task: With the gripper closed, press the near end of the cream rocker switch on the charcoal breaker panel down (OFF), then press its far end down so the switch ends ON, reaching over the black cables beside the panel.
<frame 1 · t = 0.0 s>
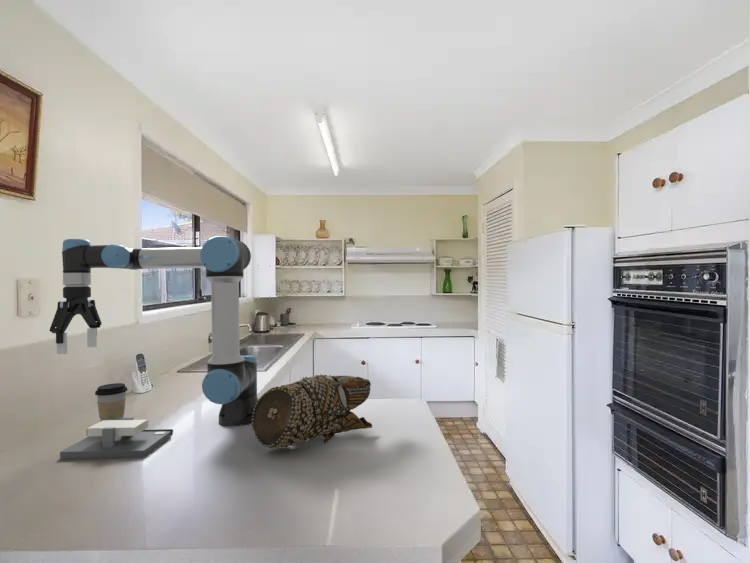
hand: (77, 350, 135), 28 cm above the counter, fingers open, 13 cm apart
rocker: (118, 427, 123), point 6 cm above the counter, hinge at 0.0°
cords: (147, 435, 133), on the counter
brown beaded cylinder: (318, 439, 128), on the counter
coffee cup: (112, 430, 139), on the counter
breaker panel: (118, 447, 123), on the counter
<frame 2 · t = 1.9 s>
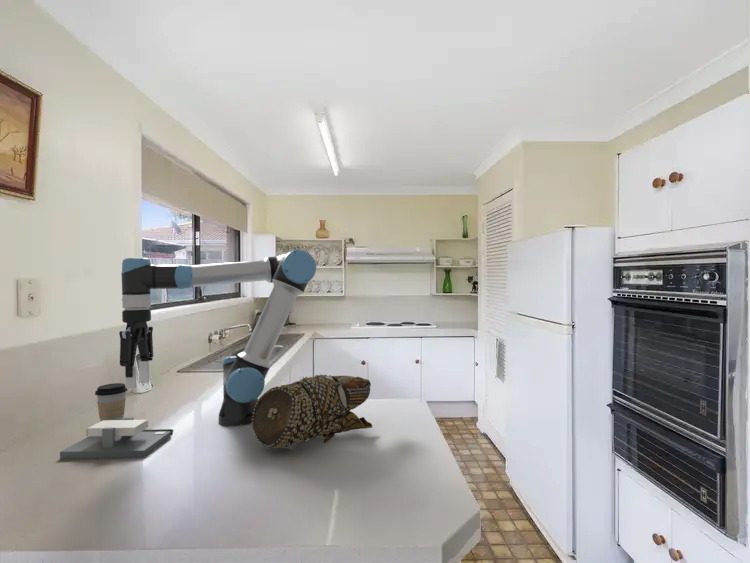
hand: (137, 384, 124), 19 cm above the counter, fingers open, 6 cm apart
nothing on the counter moved.
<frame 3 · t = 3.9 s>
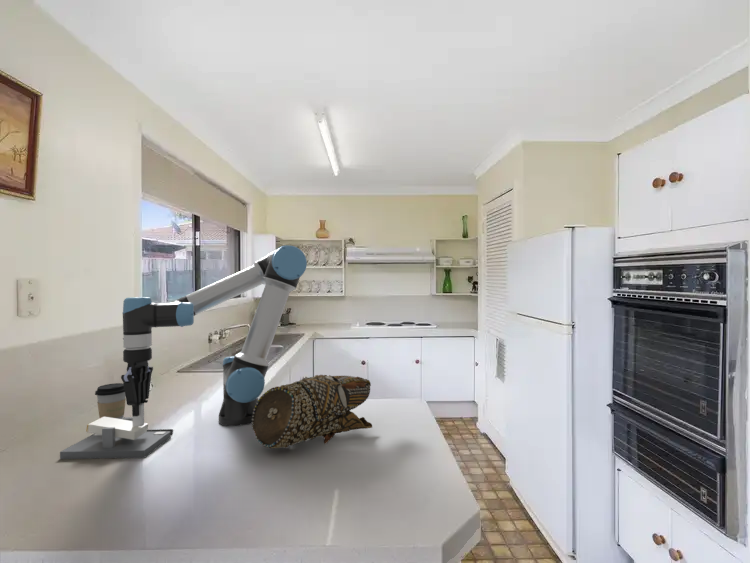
hand: (138, 425, 123), 7 cm above the counter, fingers closed
rocker: (118, 427, 123), point 6 cm above the counter, hinge at -10.2°, touching gripper
everything else where it was.
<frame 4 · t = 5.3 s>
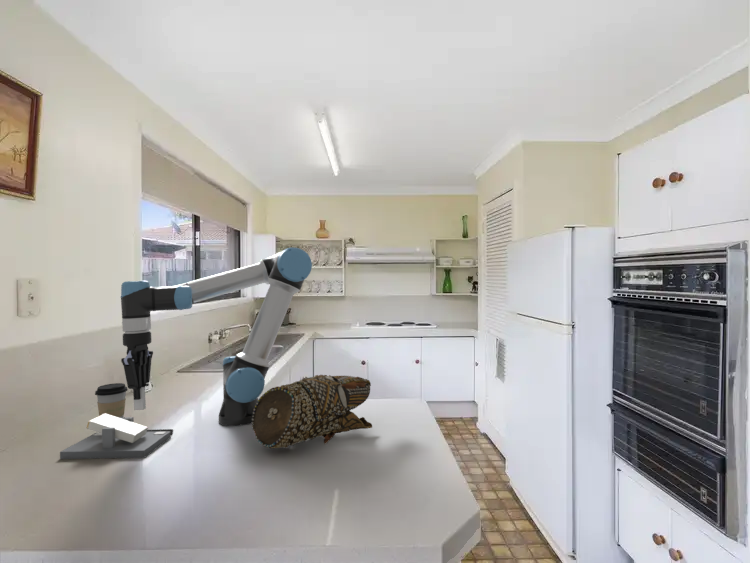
hand: (139, 409, 124), 11 cm above the counter, fingers closed
rocker: (118, 427, 123), point 6 cm above the counter, hinge at -18.5°
everything else where it was.
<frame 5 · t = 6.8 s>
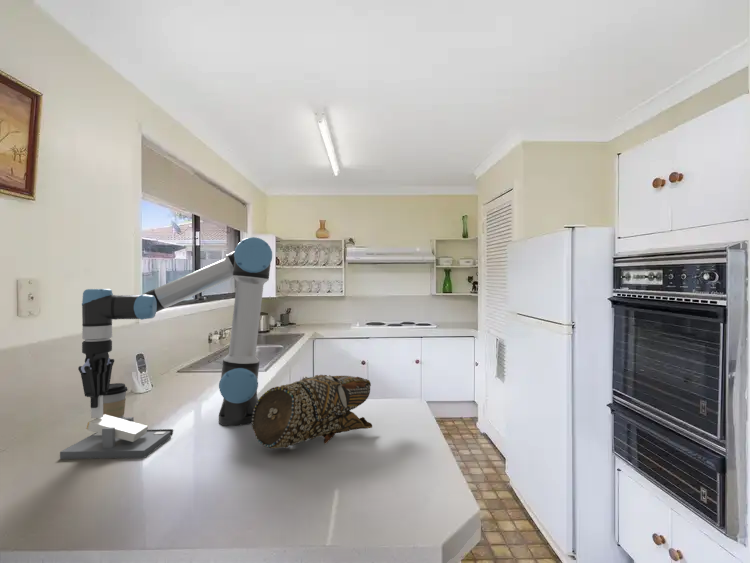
hand: (97, 417, 123), 9 cm above the counter, fingers closed
rocker: (118, 427, 123), point 6 cm above the counter, hinge at -15.9°, touching gripper
everything else where it was.
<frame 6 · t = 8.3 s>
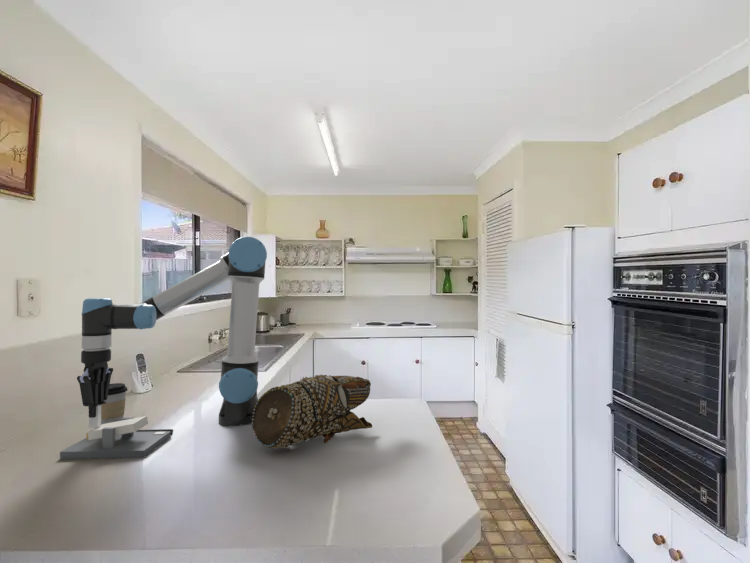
hand: (94, 426, 123), 6 cm above the counter, fingers closed
rocker: (118, 427, 123), point 6 cm above the counter, hinge at 9.4°, touching gripper
everything else where it was.
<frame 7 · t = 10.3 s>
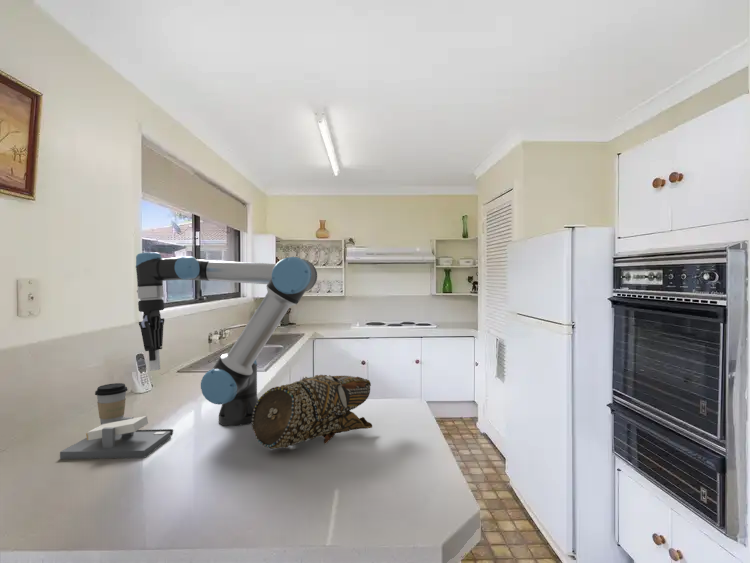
hand: (154, 369, 136), 21 cm above the counter, fingers closed
rocker: (118, 427, 123), point 6 cm above the counter, hinge at 9.7°
everything else where it was.
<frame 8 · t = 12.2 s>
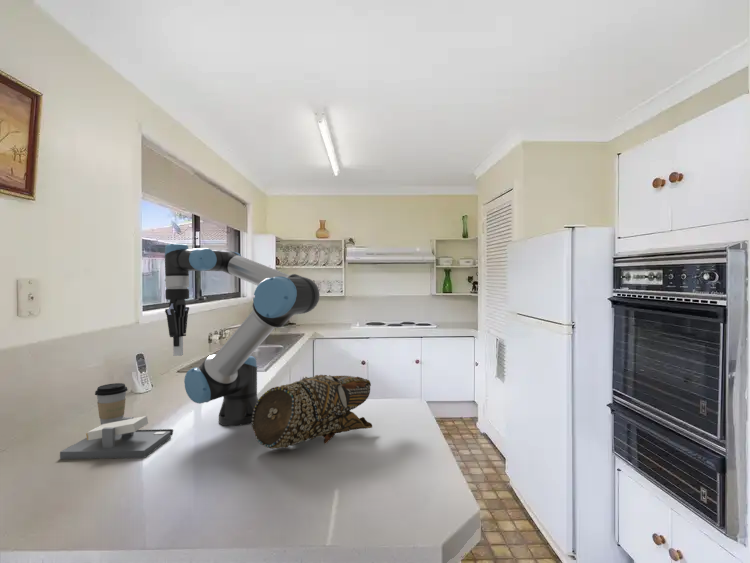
hand: (178, 355, 143), 24 cm above the counter, fingers closed
nothing on the counter moved.
at the end: rocker at +10° (first picture: +0°) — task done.
